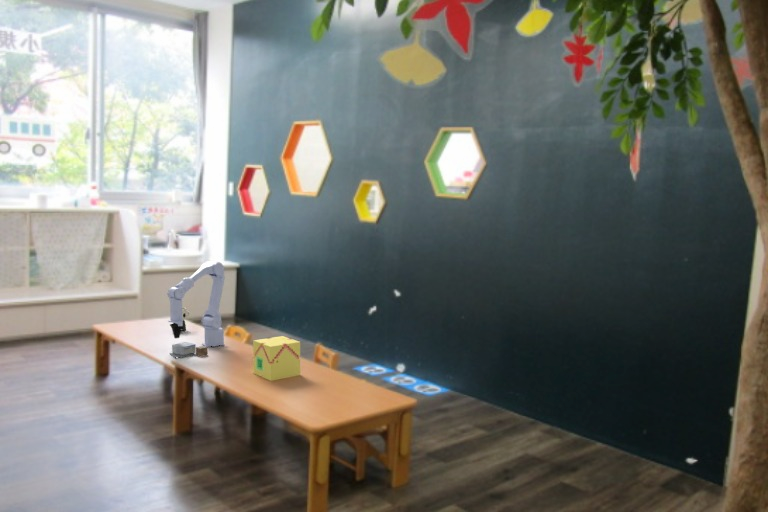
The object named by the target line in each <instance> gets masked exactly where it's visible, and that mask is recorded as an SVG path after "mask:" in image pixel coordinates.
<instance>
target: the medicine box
mask: <svg viewBox="0 0 768 512" xmlns="http://www.w3.org/2000/svg"><path fill="white" fill-rule="evenodd" d="M171 346H172V347H171V350H172V351H171V353H175V354H179V355H187V354H196V347H197V345H196V344H195V343H191V342H188V341H183V342H182V341H181V342H179V343H173V344H171Z"/></svg>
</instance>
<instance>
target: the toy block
mask: <svg viewBox="0 0 768 512" xmlns="http://www.w3.org/2000/svg"><path fill="white" fill-rule="evenodd" d="M252 343H253V345H252V346H253V347H252V348H253V349H252V351H253V354H252V355H253V361H252V362H253V368H252V369H253V373H252V374H255V375H257V376H260V377H261V378H263V379H266V380H268V381H271V382H272V381H277V380H282V379H287V378H292V377H297V376H301V358H300V357H301V341H298V340H295V339H293V338H292V339H291V338H289V337H286V336H284V335H281V336H274V337H273V336H272V337H270V338H260V339H254V340H252Z"/></svg>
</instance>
